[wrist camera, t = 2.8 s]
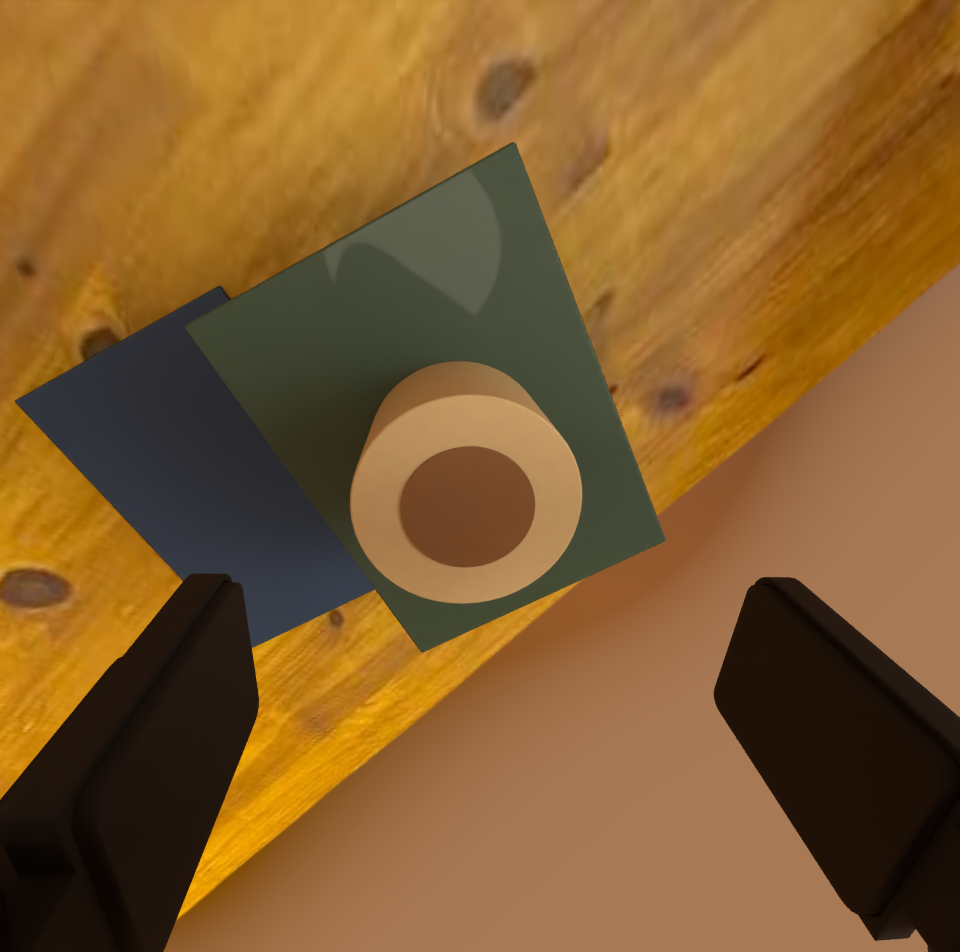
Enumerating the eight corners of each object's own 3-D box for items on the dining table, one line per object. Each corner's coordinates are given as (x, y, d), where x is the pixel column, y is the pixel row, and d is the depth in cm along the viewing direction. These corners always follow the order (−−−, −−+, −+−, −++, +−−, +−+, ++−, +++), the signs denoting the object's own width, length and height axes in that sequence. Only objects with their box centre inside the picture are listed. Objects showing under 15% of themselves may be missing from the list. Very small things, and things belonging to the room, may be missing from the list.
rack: (423, 534, 32) (421, 654, 22) (277, 304, 26) (182, 326, 16) (590, 453, 31) (666, 541, 21) (480, 192, 24) (515, 140, 15)
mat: (249, 647, 34) (247, 650, 34) (18, 399, 26) (13, 401, 26) (411, 569, 33) (411, 571, 33) (220, 285, 25) (218, 285, 25)
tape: (424, 551, 20) (422, 637, 15) (334, 413, 17) (299, 466, 13) (570, 481, 19) (615, 548, 15) (500, 327, 17) (528, 349, 12)
